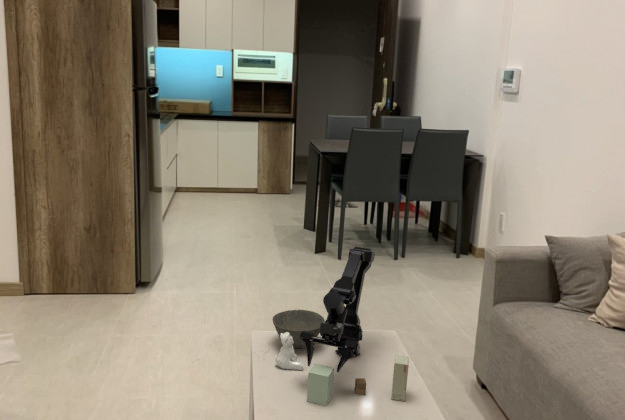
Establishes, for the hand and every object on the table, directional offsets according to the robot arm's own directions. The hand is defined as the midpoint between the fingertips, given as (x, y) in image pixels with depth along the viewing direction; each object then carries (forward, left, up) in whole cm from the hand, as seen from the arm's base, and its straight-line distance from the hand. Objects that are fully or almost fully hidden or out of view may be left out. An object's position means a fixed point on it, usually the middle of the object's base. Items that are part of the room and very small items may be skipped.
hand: (322, 368), depth 188 cm
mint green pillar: (+1, +1, -9) cm, 9 cm away
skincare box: (-21, +13, -9) cm, 26 cm away
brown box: (-12, +5, -9) cm, 16 cm away
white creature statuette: (-3, -21, -9) cm, 23 cm away
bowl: (-15, -32, -9) cm, 37 cm away
